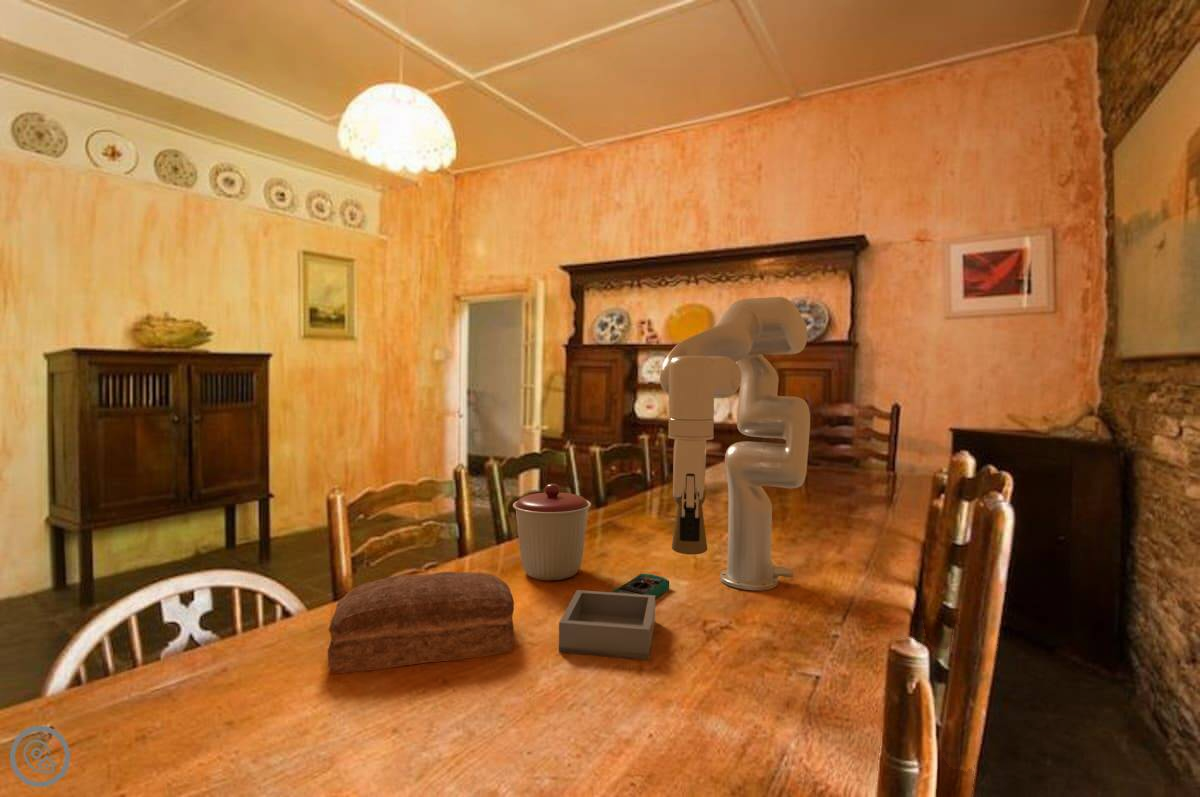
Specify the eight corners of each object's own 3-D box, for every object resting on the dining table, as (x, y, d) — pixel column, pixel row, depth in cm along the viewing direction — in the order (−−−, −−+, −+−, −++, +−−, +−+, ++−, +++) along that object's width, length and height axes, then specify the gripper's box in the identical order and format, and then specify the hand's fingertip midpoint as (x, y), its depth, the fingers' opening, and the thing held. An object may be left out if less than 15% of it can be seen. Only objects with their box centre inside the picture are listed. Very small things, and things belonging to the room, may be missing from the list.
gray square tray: (654, 621, 108) (655, 595, 108) (649, 660, 94) (649, 629, 93) (576, 615, 111) (576, 590, 111) (558, 652, 96) (559, 622, 96)
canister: (573, 591, 123) (574, 493, 122) (498, 581, 129) (498, 487, 128) (600, 566, 140) (601, 479, 140) (533, 558, 146) (533, 475, 145)
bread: (342, 632, 104) (341, 569, 103) (506, 615, 111) (507, 556, 111) (323, 680, 87) (323, 605, 87) (518, 656, 95) (518, 588, 95)
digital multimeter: (671, 590, 126) (671, 577, 126) (639, 613, 113) (639, 598, 113) (641, 584, 130) (641, 571, 130) (607, 605, 117) (607, 591, 117)
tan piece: (668, 542, 101) (668, 481, 100) (701, 541, 102) (702, 480, 101) (676, 555, 95) (676, 490, 94) (711, 553, 96) (712, 489, 95)
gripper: (670, 425, 105) (668, 524, 106) (666, 433, 89) (665, 551, 90) (711, 425, 104) (710, 526, 105) (715, 434, 88) (714, 553, 89)
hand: (689, 536), depth 98 cm, fingers closed on tan piece, 2 cm apart
